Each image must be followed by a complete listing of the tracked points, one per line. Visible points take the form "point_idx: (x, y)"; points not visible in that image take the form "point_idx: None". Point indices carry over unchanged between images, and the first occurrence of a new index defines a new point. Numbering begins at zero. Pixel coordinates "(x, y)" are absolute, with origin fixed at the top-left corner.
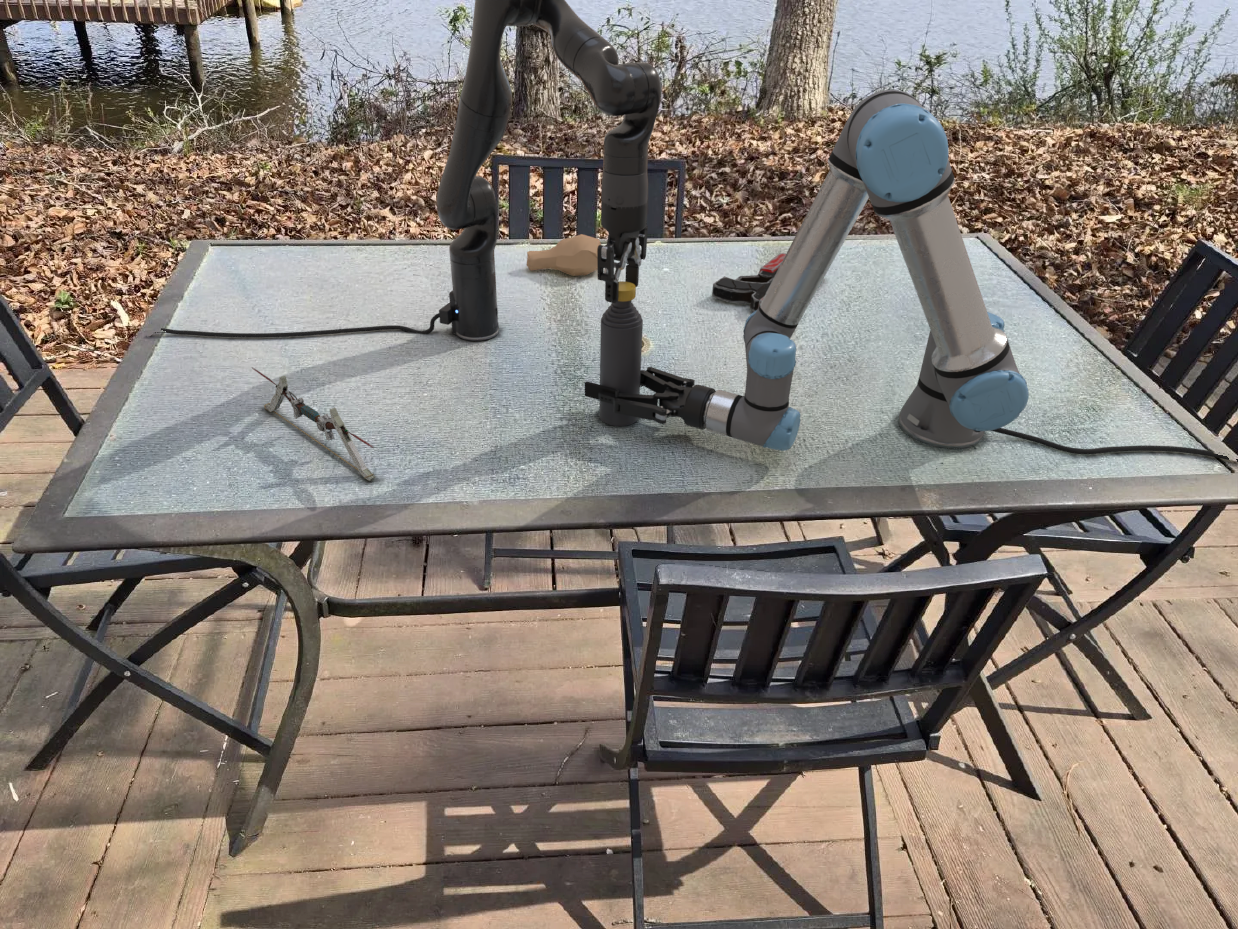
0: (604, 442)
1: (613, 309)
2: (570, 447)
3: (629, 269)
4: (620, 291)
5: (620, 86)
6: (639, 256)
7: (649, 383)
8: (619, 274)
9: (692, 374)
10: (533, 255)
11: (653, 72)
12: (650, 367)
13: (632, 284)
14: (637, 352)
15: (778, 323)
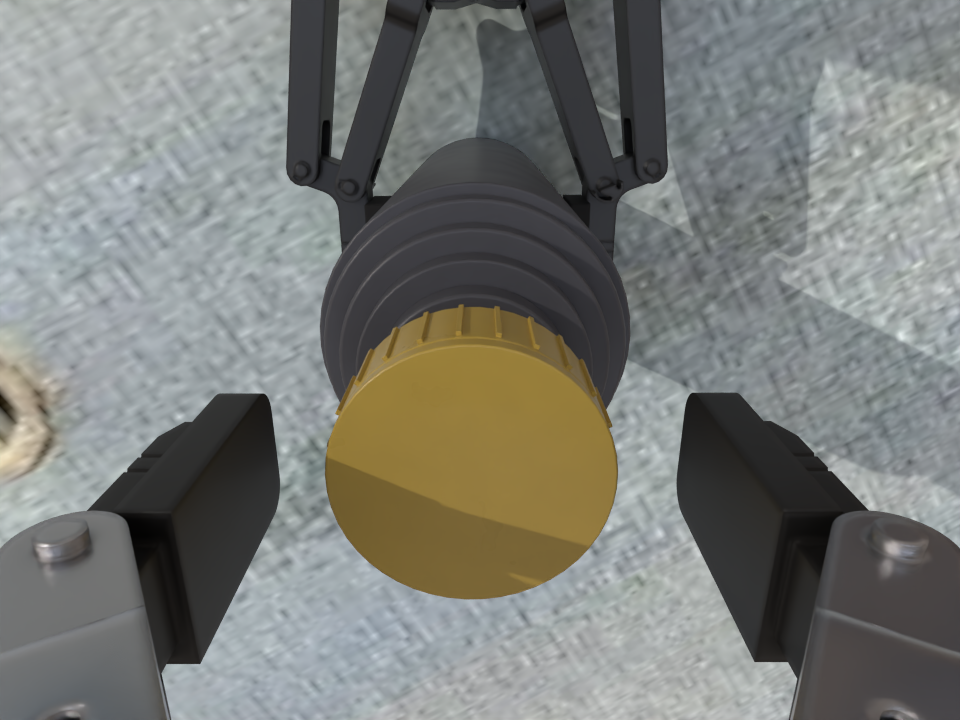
0: (666, 174)
1: None
2: (742, 262)
3: (209, 587)
4: (612, 441)
5: None
6: (89, 625)
7: (388, 128)
8: (844, 578)
9: (14, 100)
10: None
11: None
12: (297, 170)
13: (369, 415)
14: (500, 165)
15: None
